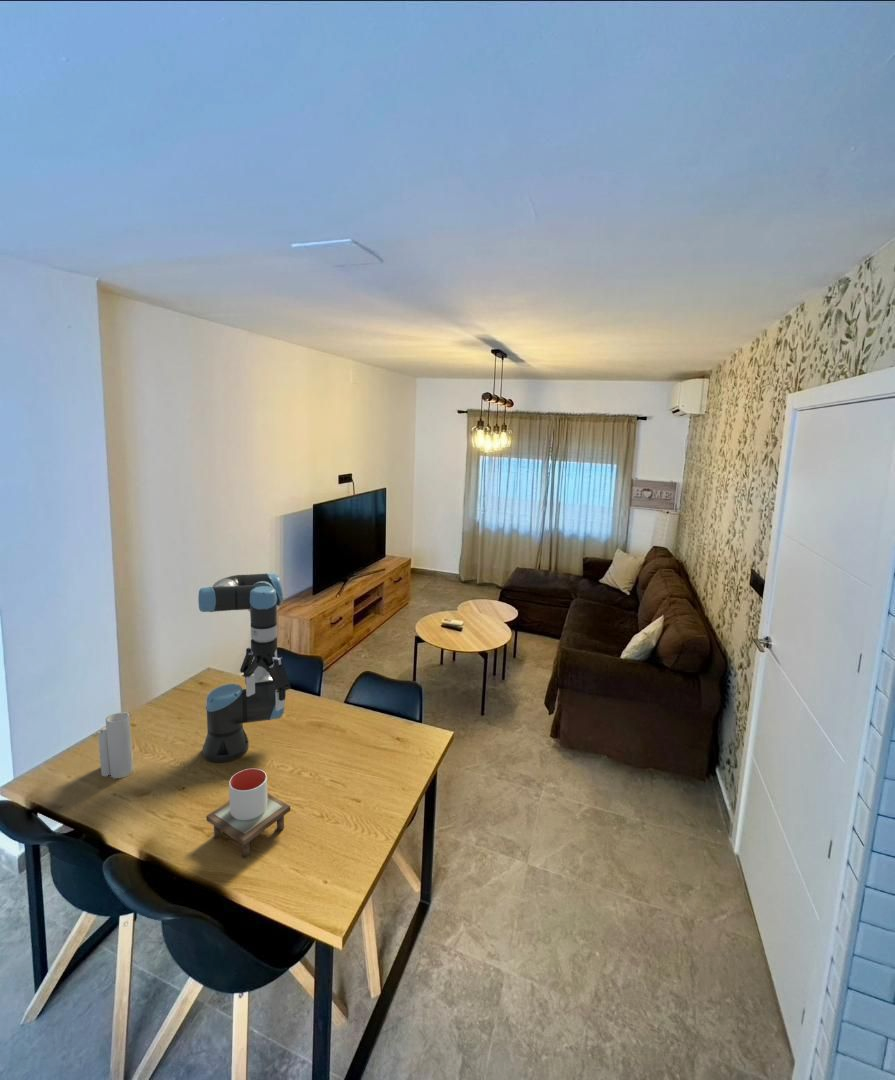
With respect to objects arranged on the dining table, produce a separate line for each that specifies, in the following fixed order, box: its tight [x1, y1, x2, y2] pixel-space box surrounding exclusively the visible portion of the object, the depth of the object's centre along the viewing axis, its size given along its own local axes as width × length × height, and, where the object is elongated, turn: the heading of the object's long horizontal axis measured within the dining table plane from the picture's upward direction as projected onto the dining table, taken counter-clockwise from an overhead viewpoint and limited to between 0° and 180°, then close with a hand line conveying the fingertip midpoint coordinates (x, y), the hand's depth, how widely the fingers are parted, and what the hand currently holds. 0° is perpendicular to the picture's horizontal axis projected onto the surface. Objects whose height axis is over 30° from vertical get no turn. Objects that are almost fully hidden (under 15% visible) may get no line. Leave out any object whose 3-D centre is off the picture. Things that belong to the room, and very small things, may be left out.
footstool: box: [206, 792, 291, 859], centre depth 151 cm, size 16×16×7 cm
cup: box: [228, 768, 268, 821], centre depth 150 cm, size 10×10×10 cm
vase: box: [97, 711, 134, 779], centre depth 173 cm, size 11×7×20 cm, turn 72°
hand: (265, 701), depth 164 cm, fingers open, 13 cm apart
